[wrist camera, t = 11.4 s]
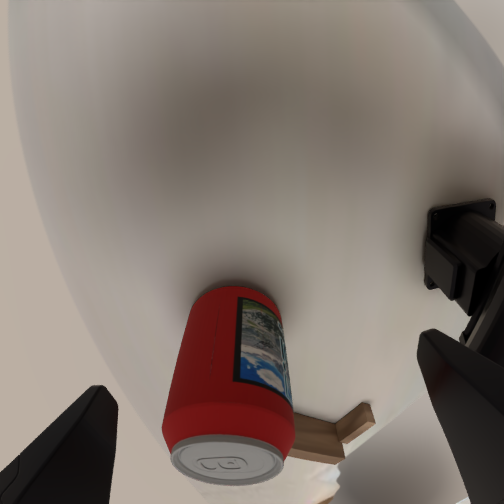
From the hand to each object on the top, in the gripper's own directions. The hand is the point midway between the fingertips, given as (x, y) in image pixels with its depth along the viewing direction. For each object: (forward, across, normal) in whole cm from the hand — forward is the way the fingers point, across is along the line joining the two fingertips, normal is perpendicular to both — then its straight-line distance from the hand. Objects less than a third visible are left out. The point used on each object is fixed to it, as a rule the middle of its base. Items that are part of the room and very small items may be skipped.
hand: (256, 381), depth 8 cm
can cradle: (+13, -1, +20) cm, 24 cm away
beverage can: (+13, +3, +8) cm, 16 cm away
